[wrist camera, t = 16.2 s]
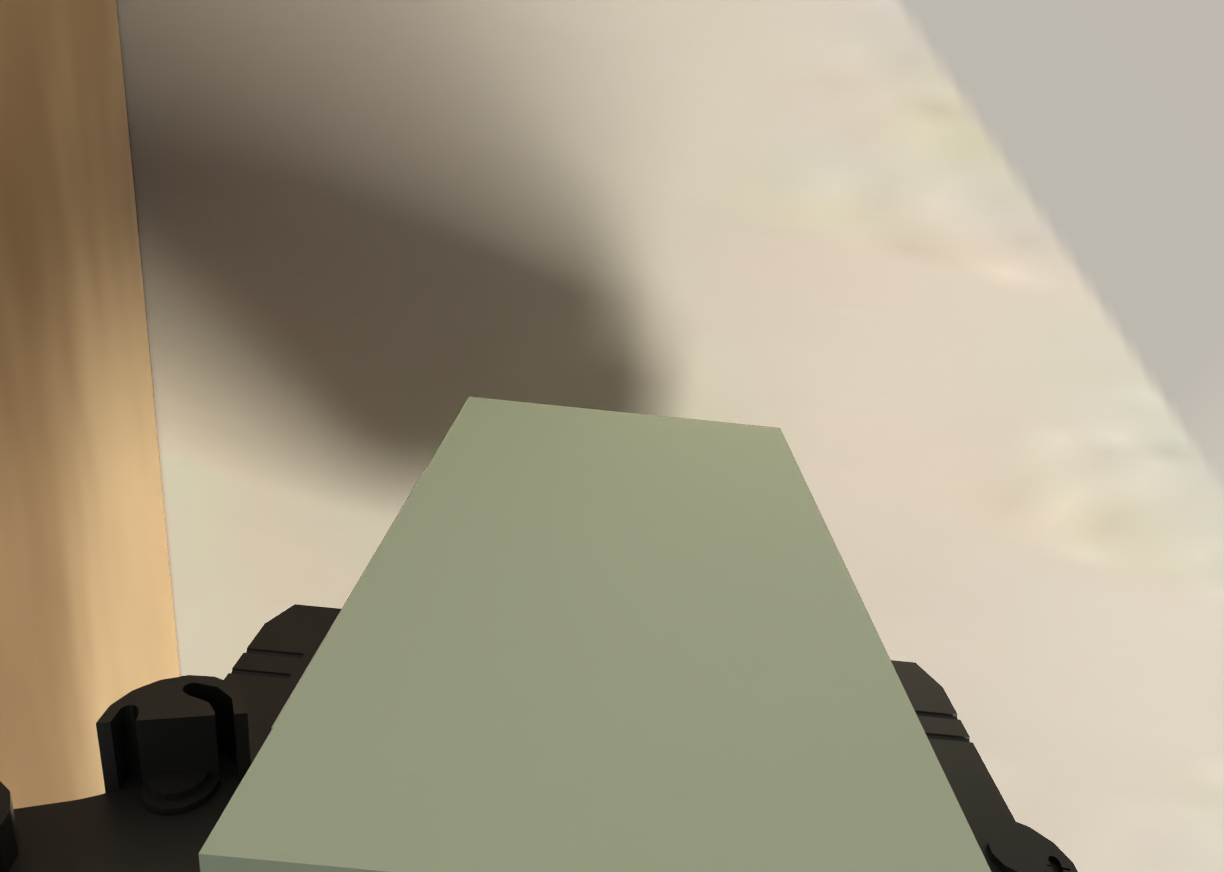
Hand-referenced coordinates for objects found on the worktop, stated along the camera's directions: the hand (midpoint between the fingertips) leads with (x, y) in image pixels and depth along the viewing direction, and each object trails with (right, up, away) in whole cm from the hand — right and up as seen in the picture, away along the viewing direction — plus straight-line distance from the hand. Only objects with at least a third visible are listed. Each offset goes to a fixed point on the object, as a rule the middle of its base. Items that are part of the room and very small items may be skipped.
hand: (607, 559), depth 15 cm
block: (0, 0, 0) cm, 0 cm away
